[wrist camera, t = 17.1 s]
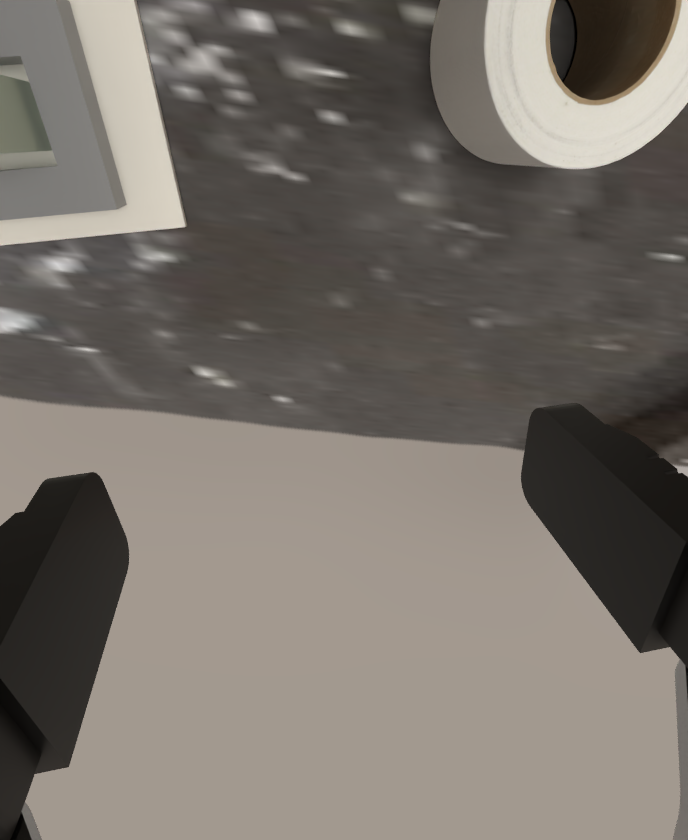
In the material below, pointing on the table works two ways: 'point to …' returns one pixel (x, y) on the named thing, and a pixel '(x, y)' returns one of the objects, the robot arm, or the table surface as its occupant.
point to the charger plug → (20, 118)
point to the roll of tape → (558, 79)
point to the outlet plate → (124, 130)
